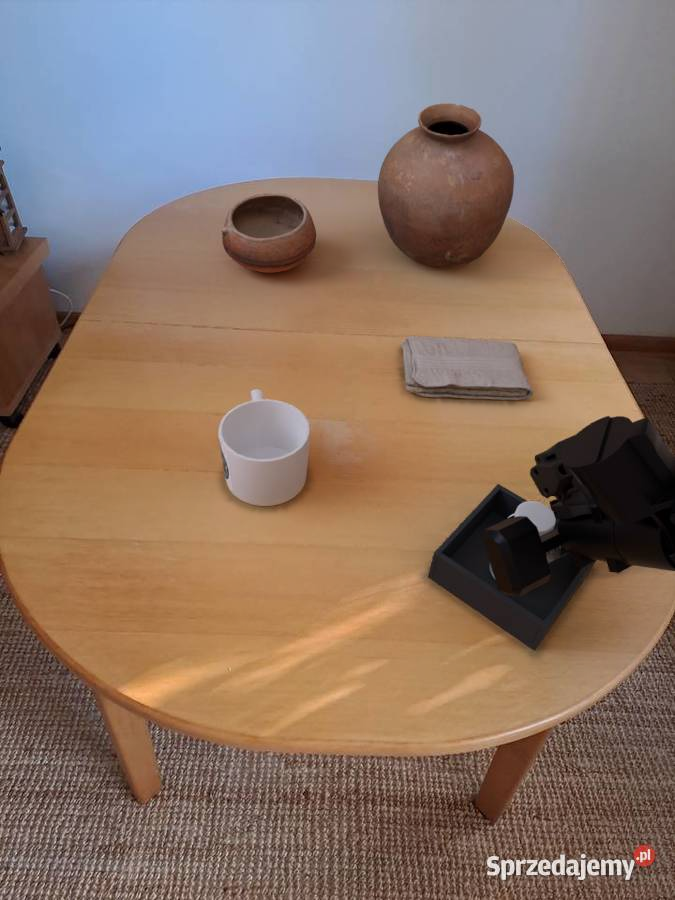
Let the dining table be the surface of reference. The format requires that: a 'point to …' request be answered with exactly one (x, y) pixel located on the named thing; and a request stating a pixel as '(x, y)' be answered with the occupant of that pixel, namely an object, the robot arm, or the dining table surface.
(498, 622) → the black square tray
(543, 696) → the dining table surface
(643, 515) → the robot arm
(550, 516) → the pill bottle
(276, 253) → the bowl
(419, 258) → the pottery
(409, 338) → the washcloth
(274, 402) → the mug
